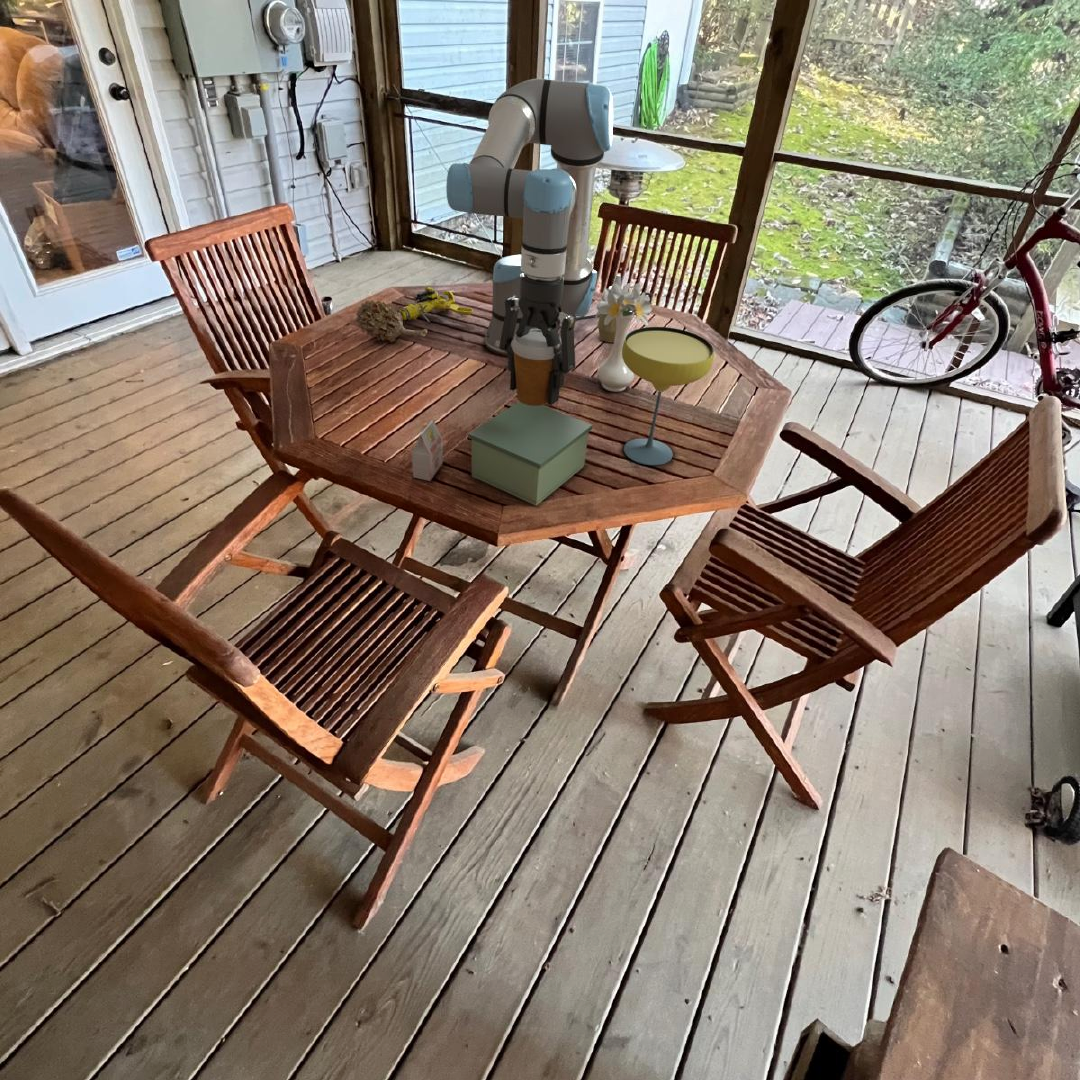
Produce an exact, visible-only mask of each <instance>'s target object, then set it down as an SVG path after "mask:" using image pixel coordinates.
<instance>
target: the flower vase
mask: <svg viewBox="0 0 1080 1080" xmlns="http://www.w3.org/2000/svg"><path fill="white" fill-rule="evenodd" d="M631 285H632V284H631V283H630V282H628V283H626V284H624V285H623V288H622V290H620V288H619V286H618V285H617V284H614V283H613V284H612V285H611V286H612V287H611V286H610V287H611V291H612V293H611V292H610V293H608V289H607V287H604V289H603V294H602V296H601V300H600V301H598V302H597V304H596V310H597V312H596V314H595V315H596V316H595V318H593V319H597V318H598V317H597V316H598V315H600V314H610V315H607V316H606V318H605V320H604V325H608V324H609V323H610V321H611V320H612V319H613V318H614V317H615V318H616V334H615V339H614V342H613V345H612V350H611V352H610V354H609V356H608V358H607V359H606V360H604V361H602V363H601V364H600V365H599V367H598V368H597V371H596V377H597V378H598V380H599V381H600V383H601V386H602V388H603V389H605V390H606V391H608V392H614V393H615V392H616V393H618V392H623V391H624V390H626V388H627V386H629V385H630V384H631V383H632V382H633V381H634V379H635V374H634V373H633V372H632V371H631V370H630V369H629V368H628V367H627V366H626V364H625V363H624V361H623V358H622V346H623V342H624V339H625V337H626V336H627V335H628V334H629V330H630V325H631V323H632V320H633V318H636V323H637V324H640V323H643V325H644V326H645V327H649V319H648V318H647V316H650V313H651V312H652V310H653V308H652V307H653V306H652V305H651V302H650V301H651V297H649V296H648V295H646V296H645V293H646V292H642V293H641V290H642V286H641V284H640V283H635V284H634V286H633V287H632V290H631V291H629V289H630V287H631ZM603 300H604V301H603ZM621 306H622V307H621ZM620 308H621V310H620Z"/></svg>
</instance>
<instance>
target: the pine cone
mask: <svg viewBox="0 0 1080 1080" xmlns="http://www.w3.org/2000/svg"><path fill="white" fill-rule="evenodd" d="M360 304H361V306H358V308H357V309H358V310H357V311H356V312H355V315H356V319H355V321H356V322H357V327H358V328H360V330H361V332H364V333H366V335H367V336H369V337H370V338H372V339H374V338H376V339H377V340H381V341H383V342H384V341H386V340H388V341H389V342H390V343H392V342H395V341H396V339H397V337H399V336H401V335H408V336H419V337H425V336H426V335H427V333H428V329H426V328H424V329H422V330H414V329H406V327H405V326H404V325H403V324H404V322H403V321H404V320H403V316H402V315H401V314H400V313H399V312H397V309H396V308H393V307H392V306H391V305H387V304H386V303H385V302H384V301H381V300H377V301H374V300H372V299H371V300H365V301H364V302H361V303H360Z"/></svg>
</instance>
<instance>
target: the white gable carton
mask: <svg viewBox="0 0 1080 1080" xmlns="http://www.w3.org/2000/svg"><path fill="white" fill-rule="evenodd" d="M443 451H444V449H443V437H442V435H441V433H440V431H439V429H438V426H437V424H436V422H435V419H432V420H431V421H429V423H428V424H427V425H426V427H425V428H424V429H423V430H422V431H421V433H420V434H419V435H418V439H417V441H416V443H415V445H414V447H413V449H412V450H411V462H412V463H411V464H412V478H416V479H420V480H425V481H429V482H431V481H432V480H433V478H434V477H435V475H436V474H437V473H438V471H439V470H440V468H441V467H442V466H443V464H444V456H443V454H444V453H443Z"/></svg>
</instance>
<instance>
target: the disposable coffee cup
mask: <svg viewBox="0 0 1080 1080" xmlns="http://www.w3.org/2000/svg"><path fill="white" fill-rule="evenodd" d="M559 338H560V342H561V336H559ZM559 346H560V343H559V344H558V345H556V346H554V347H555V348H556V349H558V348H559ZM511 347H512V349H513V351H514V363H515V375H516V386H517V389H516V397H517V398H516V399H517V400H518V402H519V401H520V402H521V403H523V404H526V405H530V406H541V405H543V406H545V405H546V404H547V403H548V391H549V379H550V372H551V371H553V370H554V368H553V364H552V359H553V358H554V356H555V354H554V350H553V347H552V346H550V347H548V346H547V342H546V338H545V337H544V336H543V334H542V330H539V329H538V328H537V329H530V331H529V333H528V334H526V335H525V336H523V337H521V338H520V337H518V336H517V334H515V336H514V339H513V340H512V342H511ZM560 352H561V351H560ZM560 352H559V353H560ZM559 353H557V354H559ZM547 405H548V404H547Z"/></svg>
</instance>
